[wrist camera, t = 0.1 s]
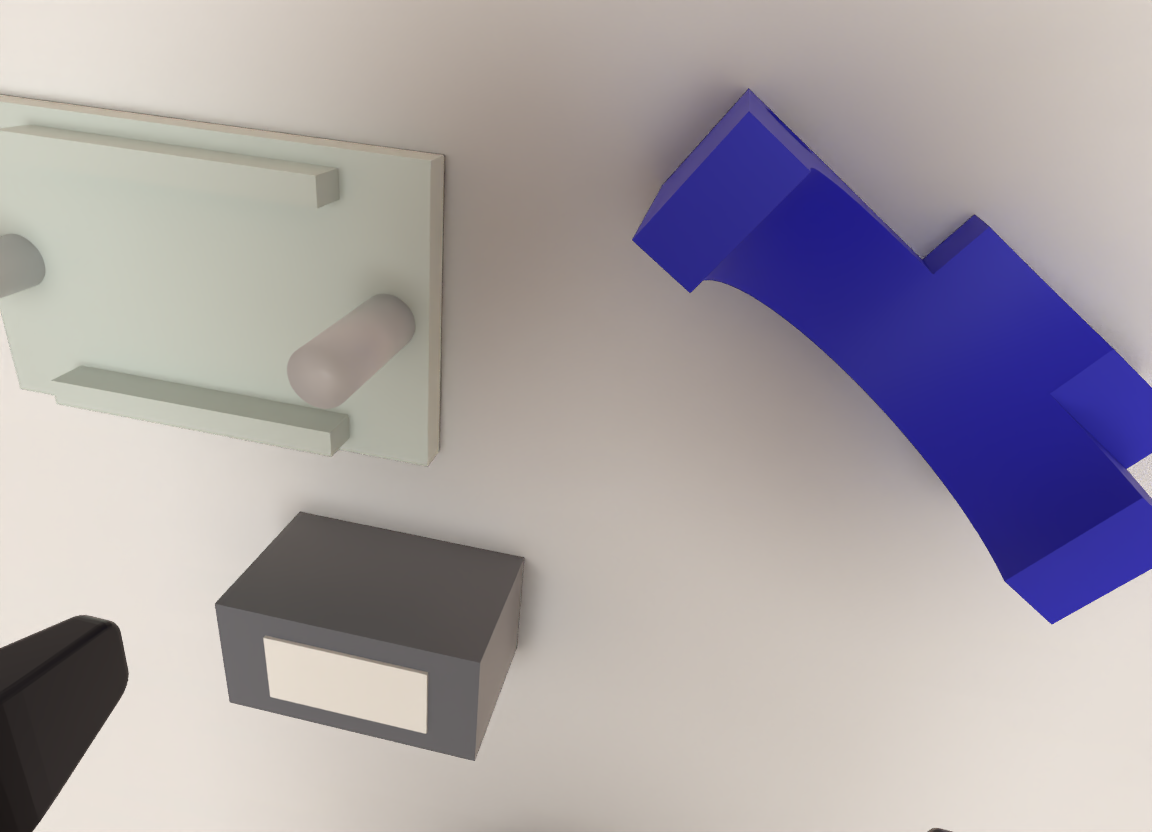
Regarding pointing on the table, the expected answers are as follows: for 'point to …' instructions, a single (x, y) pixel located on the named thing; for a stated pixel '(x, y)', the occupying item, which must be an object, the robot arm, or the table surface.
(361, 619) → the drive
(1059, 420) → the cable clip
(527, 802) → the table surface
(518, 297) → the table surface
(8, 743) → the robot arm
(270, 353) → the pegged rail plate
